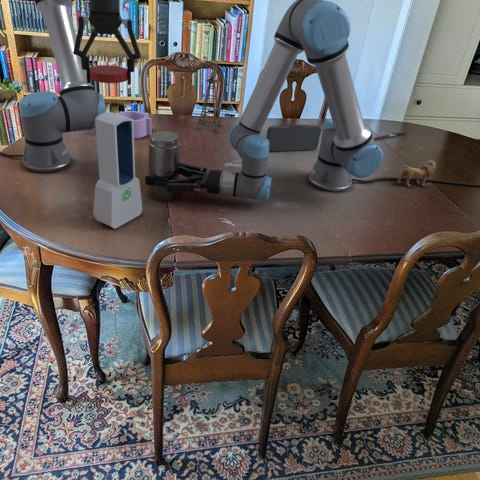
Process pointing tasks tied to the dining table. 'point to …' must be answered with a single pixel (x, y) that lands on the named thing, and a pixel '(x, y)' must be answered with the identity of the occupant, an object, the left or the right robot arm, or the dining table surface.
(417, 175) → the lion figurine
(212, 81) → the dark tall lattice tower
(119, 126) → the electronic device
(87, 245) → the dining table surface
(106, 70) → the lid
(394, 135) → the sword
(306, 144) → the handheld gaming console
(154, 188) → the jar
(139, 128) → the clip
